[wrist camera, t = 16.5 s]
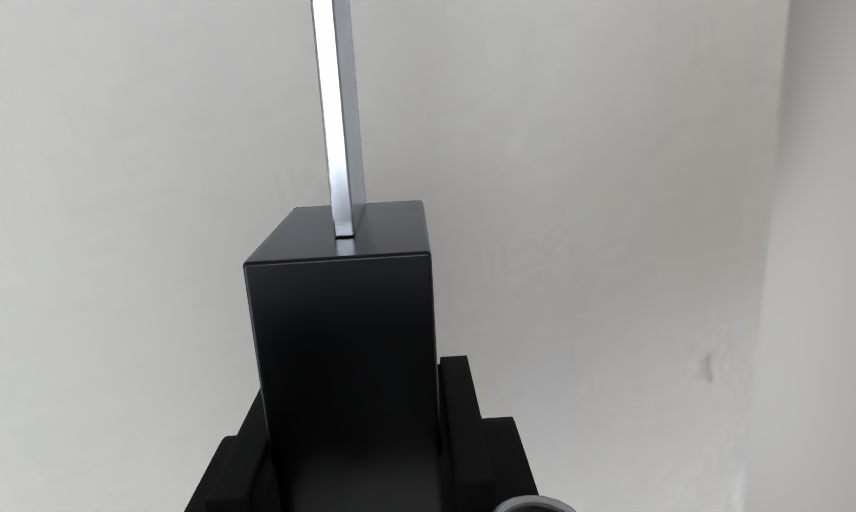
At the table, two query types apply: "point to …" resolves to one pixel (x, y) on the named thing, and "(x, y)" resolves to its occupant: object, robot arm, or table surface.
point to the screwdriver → (347, 325)
